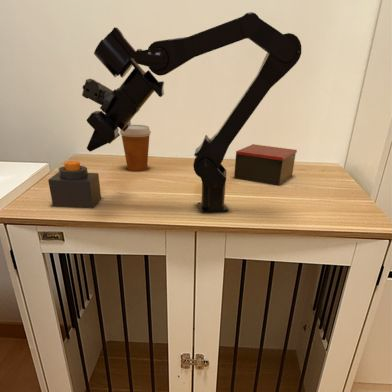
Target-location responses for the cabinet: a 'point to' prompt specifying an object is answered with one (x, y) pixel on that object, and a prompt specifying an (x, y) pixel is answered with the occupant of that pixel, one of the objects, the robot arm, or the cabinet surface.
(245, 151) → the red rectangular panel
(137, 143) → the disposable coffee cup
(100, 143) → the robot arm
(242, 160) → the dark brown box
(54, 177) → the control box
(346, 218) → the cabinet surface
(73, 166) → the button
